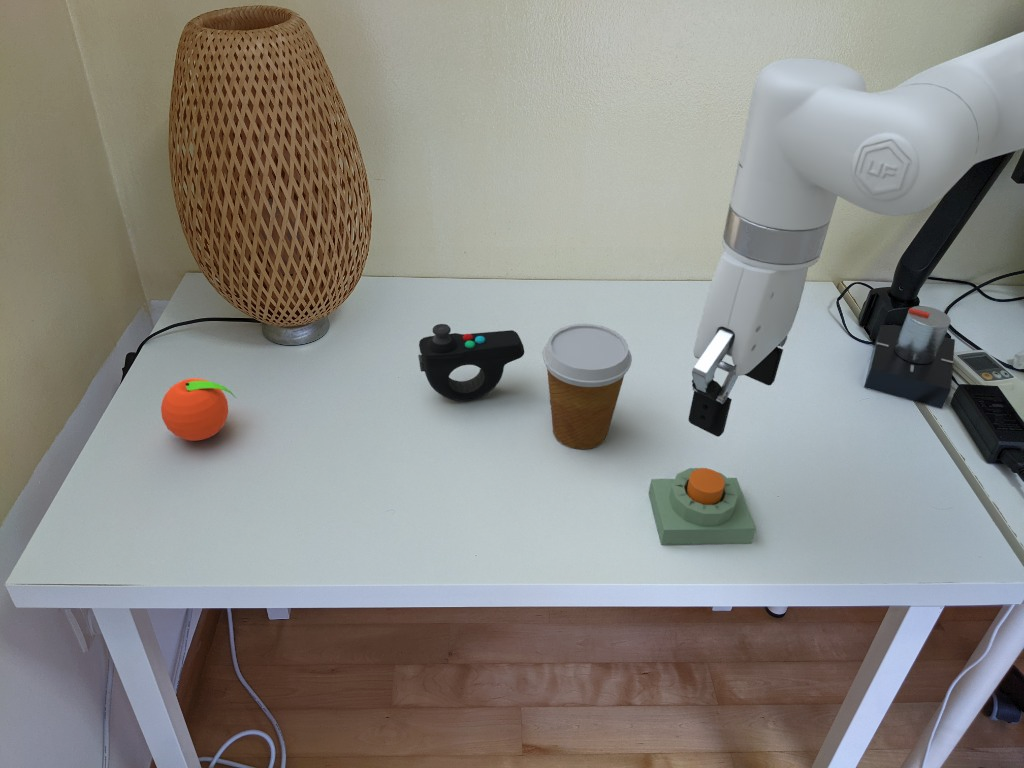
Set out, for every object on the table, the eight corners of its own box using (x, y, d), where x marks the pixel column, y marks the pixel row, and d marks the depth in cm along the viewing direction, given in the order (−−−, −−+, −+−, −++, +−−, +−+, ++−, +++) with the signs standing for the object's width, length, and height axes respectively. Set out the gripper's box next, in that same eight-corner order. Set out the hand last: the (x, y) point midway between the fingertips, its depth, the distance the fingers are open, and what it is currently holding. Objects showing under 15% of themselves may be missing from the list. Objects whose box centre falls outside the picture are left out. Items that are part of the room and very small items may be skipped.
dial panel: (941, 408, 94) (951, 388, 92) (863, 387, 97) (871, 367, 95) (946, 358, 102) (955, 338, 100) (874, 340, 105) (882, 320, 103)
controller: (419, 389, 95) (415, 320, 89) (518, 378, 97) (520, 310, 91) (423, 411, 92) (419, 341, 86) (525, 399, 94) (528, 330, 88)
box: (732, 492, 82) (740, 464, 79) (751, 543, 76) (760, 515, 74) (648, 493, 81) (653, 466, 79) (661, 545, 76) (666, 517, 73)
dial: (937, 349, 98) (953, 310, 95) (932, 368, 95) (949, 328, 91) (897, 338, 100) (911, 299, 97) (891, 356, 97) (906, 317, 93)
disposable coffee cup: (522, 438, 88) (525, 351, 81) (565, 395, 94) (572, 312, 87) (595, 471, 84) (605, 383, 77) (635, 425, 90) (648, 339, 83)
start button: (716, 480, 78) (720, 467, 77) (725, 505, 75) (728, 492, 74) (683, 480, 78) (686, 468, 77) (691, 505, 75) (693, 492, 74)
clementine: (245, 409, 91) (232, 360, 87) (242, 447, 86) (229, 397, 82) (173, 417, 90) (157, 368, 86) (166, 457, 84) (148, 407, 80)
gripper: (778, 185, 67) (739, 346, 78) (674, 254, 57) (645, 430, 67) (863, 210, 64) (810, 376, 74) (768, 290, 53) (722, 470, 63)
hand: (732, 402), depth 71 cm, fingers open, 9 cm apart
